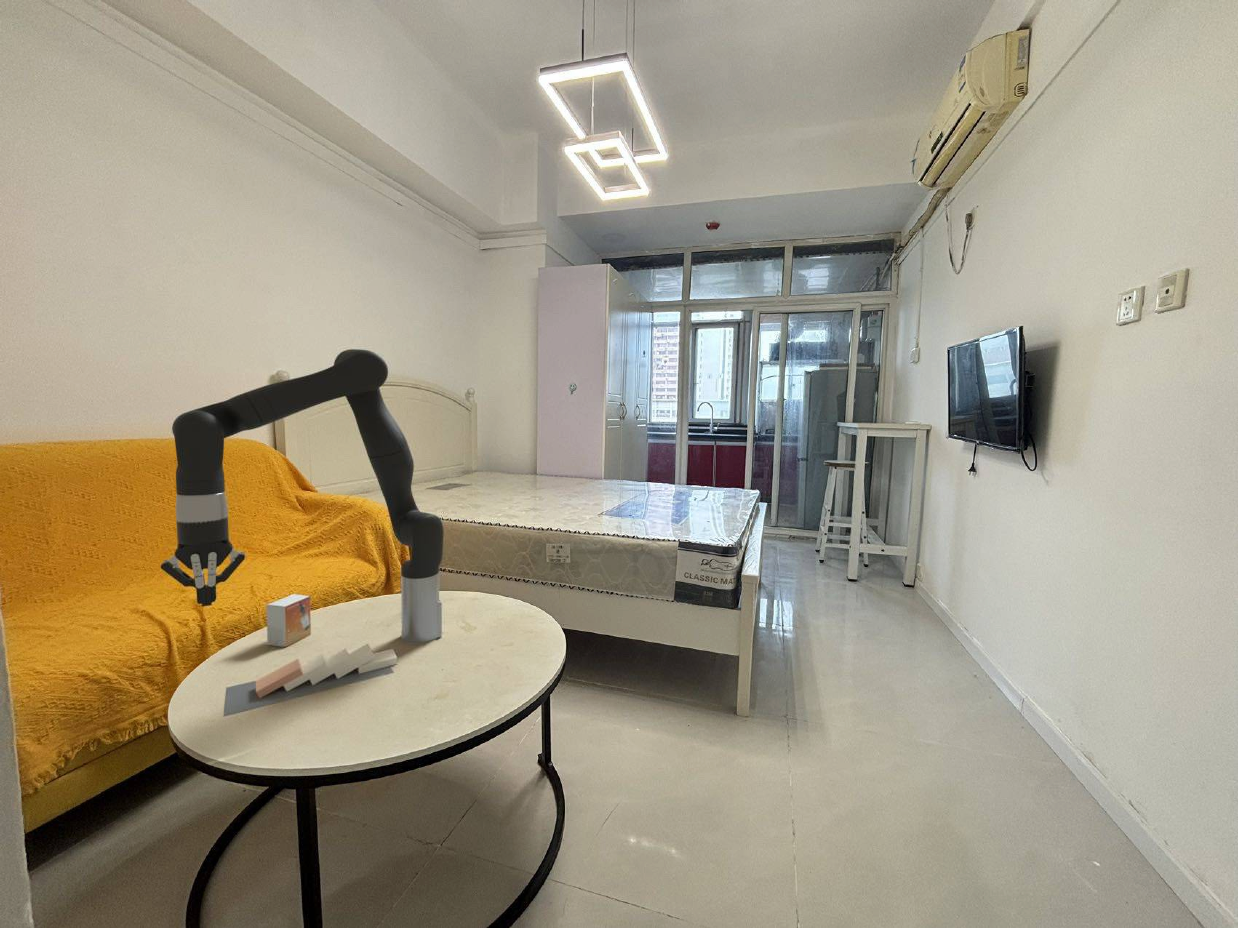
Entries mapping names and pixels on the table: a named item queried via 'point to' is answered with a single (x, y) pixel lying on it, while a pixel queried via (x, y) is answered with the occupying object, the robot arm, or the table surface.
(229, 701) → the mat
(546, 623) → the table surface
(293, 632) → the small box
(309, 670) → the domino
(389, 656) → the domino
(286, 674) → the domino
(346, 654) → the domino
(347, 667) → the domino
